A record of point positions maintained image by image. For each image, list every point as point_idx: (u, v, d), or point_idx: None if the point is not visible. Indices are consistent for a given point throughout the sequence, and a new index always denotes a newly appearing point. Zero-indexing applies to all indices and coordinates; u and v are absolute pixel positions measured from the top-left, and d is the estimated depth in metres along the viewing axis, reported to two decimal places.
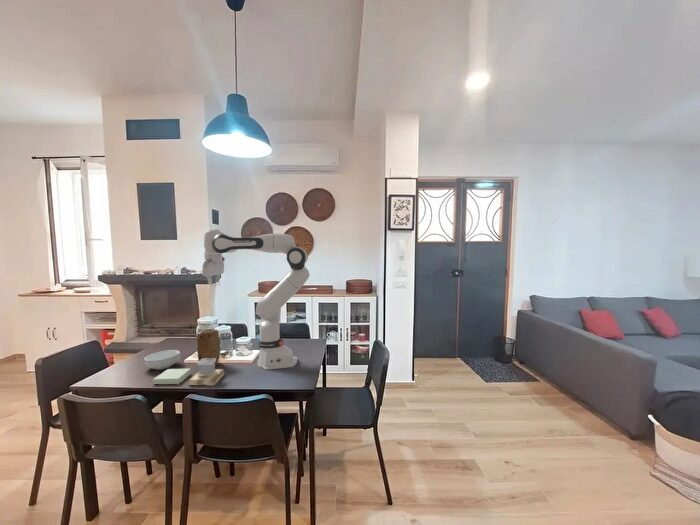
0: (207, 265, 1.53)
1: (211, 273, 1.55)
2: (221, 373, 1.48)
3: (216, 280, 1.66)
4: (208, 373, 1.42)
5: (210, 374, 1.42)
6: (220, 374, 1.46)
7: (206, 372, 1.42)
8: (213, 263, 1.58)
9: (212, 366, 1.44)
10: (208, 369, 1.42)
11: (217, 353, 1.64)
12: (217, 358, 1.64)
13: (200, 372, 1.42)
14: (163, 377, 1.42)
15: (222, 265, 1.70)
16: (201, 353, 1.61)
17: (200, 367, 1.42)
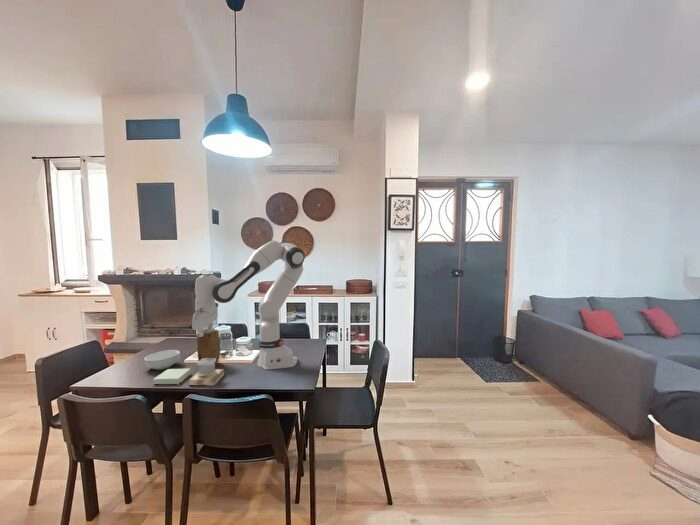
0: (198, 317, 1.34)
1: (202, 325, 1.37)
2: (221, 373, 1.48)
3: (208, 329, 1.48)
4: (208, 373, 1.42)
5: (210, 374, 1.42)
6: (220, 374, 1.46)
7: (206, 372, 1.42)
8: (205, 313, 1.40)
9: (212, 366, 1.44)
10: (208, 369, 1.42)
11: (217, 353, 1.64)
12: (217, 358, 1.64)
13: (200, 372, 1.42)
14: (163, 377, 1.42)
15: (215, 311, 1.52)
16: (201, 353, 1.61)
17: (200, 367, 1.42)
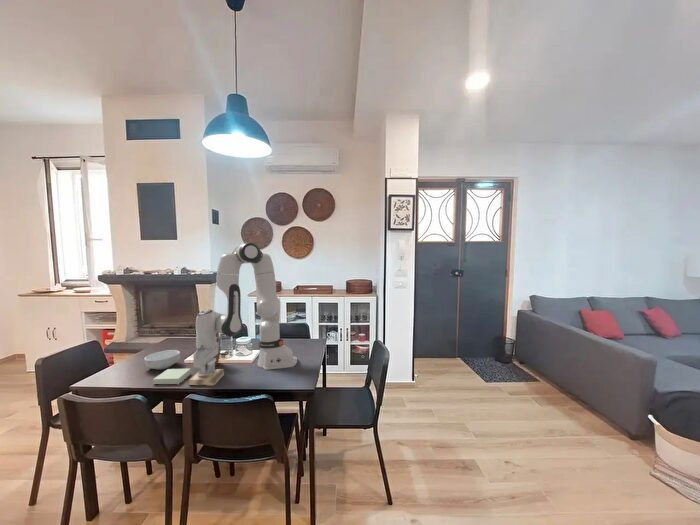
0: (199, 356, 1.35)
1: (203, 363, 1.38)
2: (221, 373, 1.48)
3: None
4: (208, 373, 1.42)
5: (210, 374, 1.42)
6: (220, 374, 1.46)
7: (206, 372, 1.43)
8: (206, 350, 1.40)
9: (212, 366, 1.44)
10: (208, 369, 1.43)
11: None
12: (217, 358, 1.64)
13: (200, 372, 1.42)
14: (163, 377, 1.42)
15: (216, 345, 1.52)
16: None
17: None
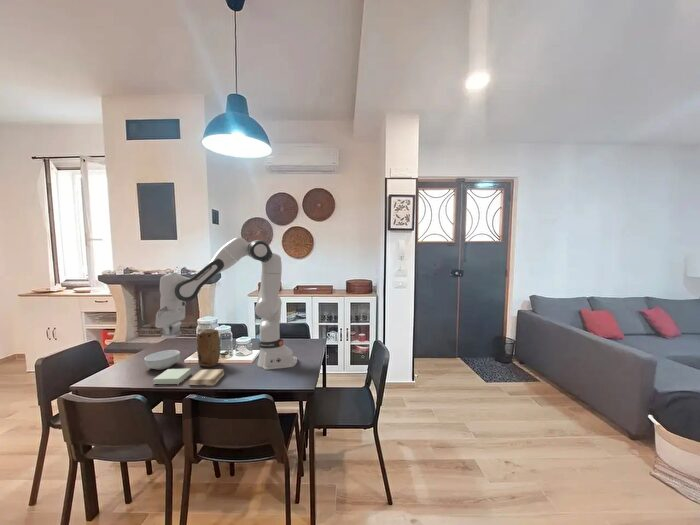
0: (161, 315, 1.35)
1: (166, 323, 1.38)
2: (221, 373, 1.48)
3: None
4: (172, 335, 1.43)
5: (174, 336, 1.43)
6: (220, 374, 1.46)
7: (170, 334, 1.43)
8: (169, 311, 1.41)
9: (176, 328, 1.45)
10: (172, 331, 1.43)
11: (217, 353, 1.64)
12: (217, 358, 1.64)
13: (164, 334, 1.43)
14: (163, 377, 1.42)
15: (183, 310, 1.53)
16: (201, 353, 1.61)
17: None
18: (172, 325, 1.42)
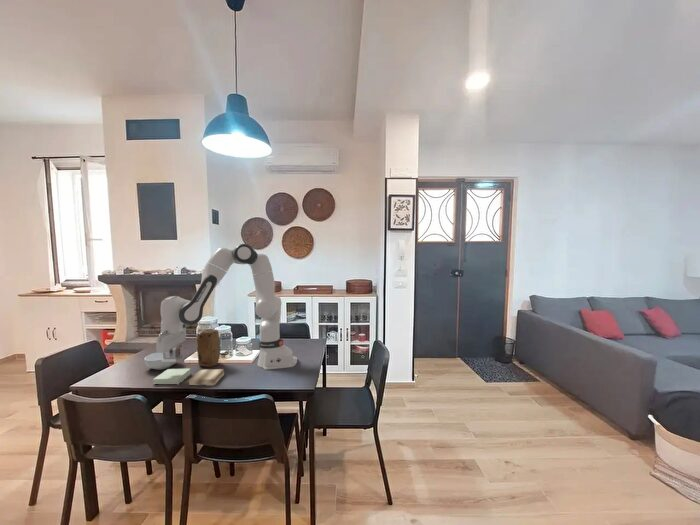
0: (162, 340, 1.36)
1: (167, 348, 1.39)
2: (221, 373, 1.48)
3: None
4: (172, 358, 1.43)
5: (174, 359, 1.43)
6: (220, 374, 1.46)
7: (170, 357, 1.43)
8: (170, 335, 1.41)
9: (177, 351, 1.45)
10: (172, 354, 1.43)
11: (217, 353, 1.64)
12: (217, 358, 1.64)
13: (164, 357, 1.43)
14: (163, 377, 1.42)
15: (183, 332, 1.53)
16: (201, 353, 1.61)
17: None
18: (172, 349, 1.43)
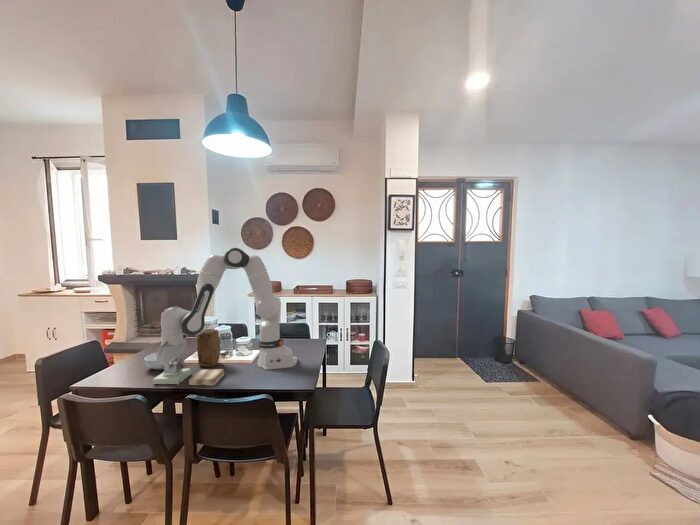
0: (162, 352, 1.36)
1: (167, 359, 1.39)
2: (221, 373, 1.48)
3: None
4: (173, 372, 1.44)
5: (175, 373, 1.43)
6: (220, 374, 1.46)
7: (171, 371, 1.44)
8: (170, 346, 1.42)
9: (178, 365, 1.46)
10: (173, 368, 1.44)
11: (217, 353, 1.64)
12: (217, 358, 1.64)
13: (165, 371, 1.44)
14: (163, 377, 1.42)
15: (184, 342, 1.53)
16: (201, 353, 1.61)
17: None
18: (173, 363, 1.43)
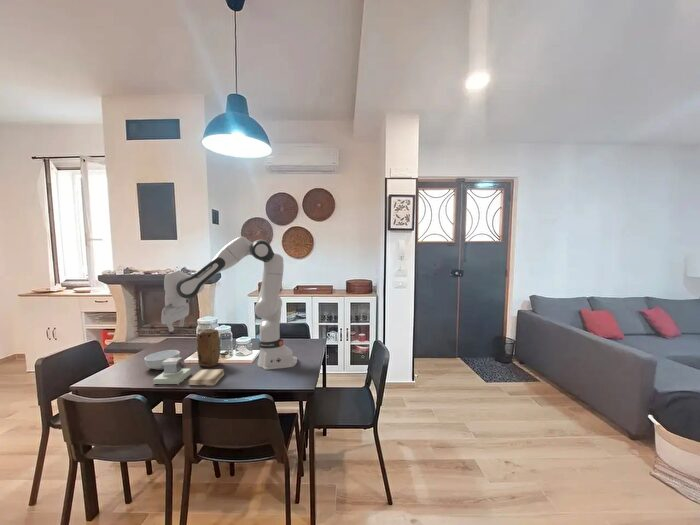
0: (166, 312, 1.40)
1: (172, 320, 1.42)
2: (221, 373, 1.48)
3: (180, 324, 1.53)
4: (173, 372, 1.44)
5: (175, 373, 1.43)
6: (220, 374, 1.46)
7: (171, 371, 1.44)
8: (174, 308, 1.45)
9: (178, 365, 1.46)
10: (173, 368, 1.44)
11: (217, 353, 1.64)
12: (217, 358, 1.64)
13: (165, 371, 1.44)
14: (163, 377, 1.42)
15: (187, 307, 1.57)
16: (201, 353, 1.61)
17: (165, 366, 1.44)
18: (173, 363, 1.43)
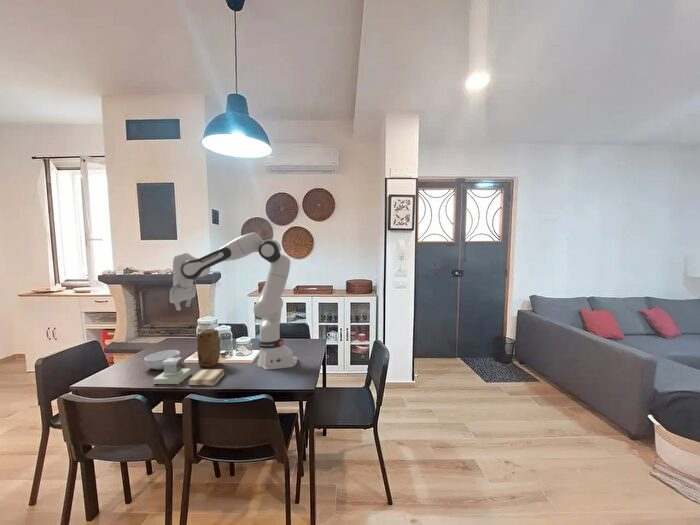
0: (174, 291, 1.47)
1: (179, 299, 1.50)
2: (221, 373, 1.48)
3: (186, 305, 1.61)
4: (173, 372, 1.44)
5: (175, 373, 1.43)
6: (220, 374, 1.46)
7: (171, 371, 1.44)
8: (182, 288, 1.52)
9: (178, 365, 1.46)
10: (173, 368, 1.44)
11: (217, 353, 1.64)
12: (217, 358, 1.64)
13: (165, 371, 1.44)
14: (163, 377, 1.42)
15: (193, 289, 1.64)
16: (201, 353, 1.61)
17: (165, 366, 1.44)
18: (173, 363, 1.43)
